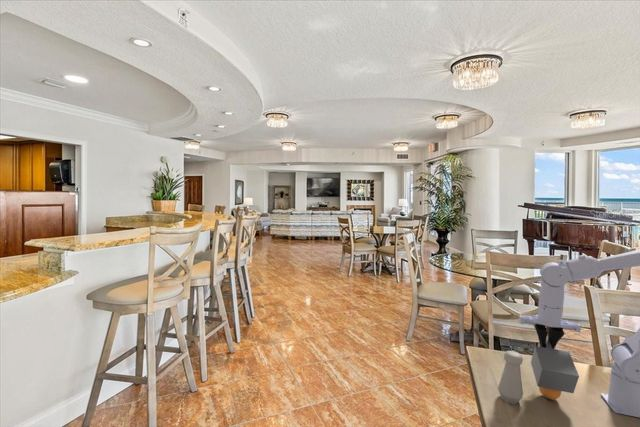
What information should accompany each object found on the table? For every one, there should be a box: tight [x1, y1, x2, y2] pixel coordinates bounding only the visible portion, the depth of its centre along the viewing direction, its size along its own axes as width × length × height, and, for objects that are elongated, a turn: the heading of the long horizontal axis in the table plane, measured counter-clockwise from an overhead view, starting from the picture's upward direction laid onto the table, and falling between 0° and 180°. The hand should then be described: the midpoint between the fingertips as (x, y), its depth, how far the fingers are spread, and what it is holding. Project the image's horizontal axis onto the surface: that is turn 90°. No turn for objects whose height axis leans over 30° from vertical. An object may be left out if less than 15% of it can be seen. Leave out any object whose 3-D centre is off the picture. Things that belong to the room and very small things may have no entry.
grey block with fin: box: [530, 335, 580, 394], centre depth 91 cm, size 14×8×6 cm, turn 160°
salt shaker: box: [497, 350, 524, 405], centre depth 88 cm, size 6×6×13 cm
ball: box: [538, 386, 562, 401], centre depth 90 cm, size 5×5×5 cm
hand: (546, 350), depth 95 cm, fingers closed on grey block with fin
